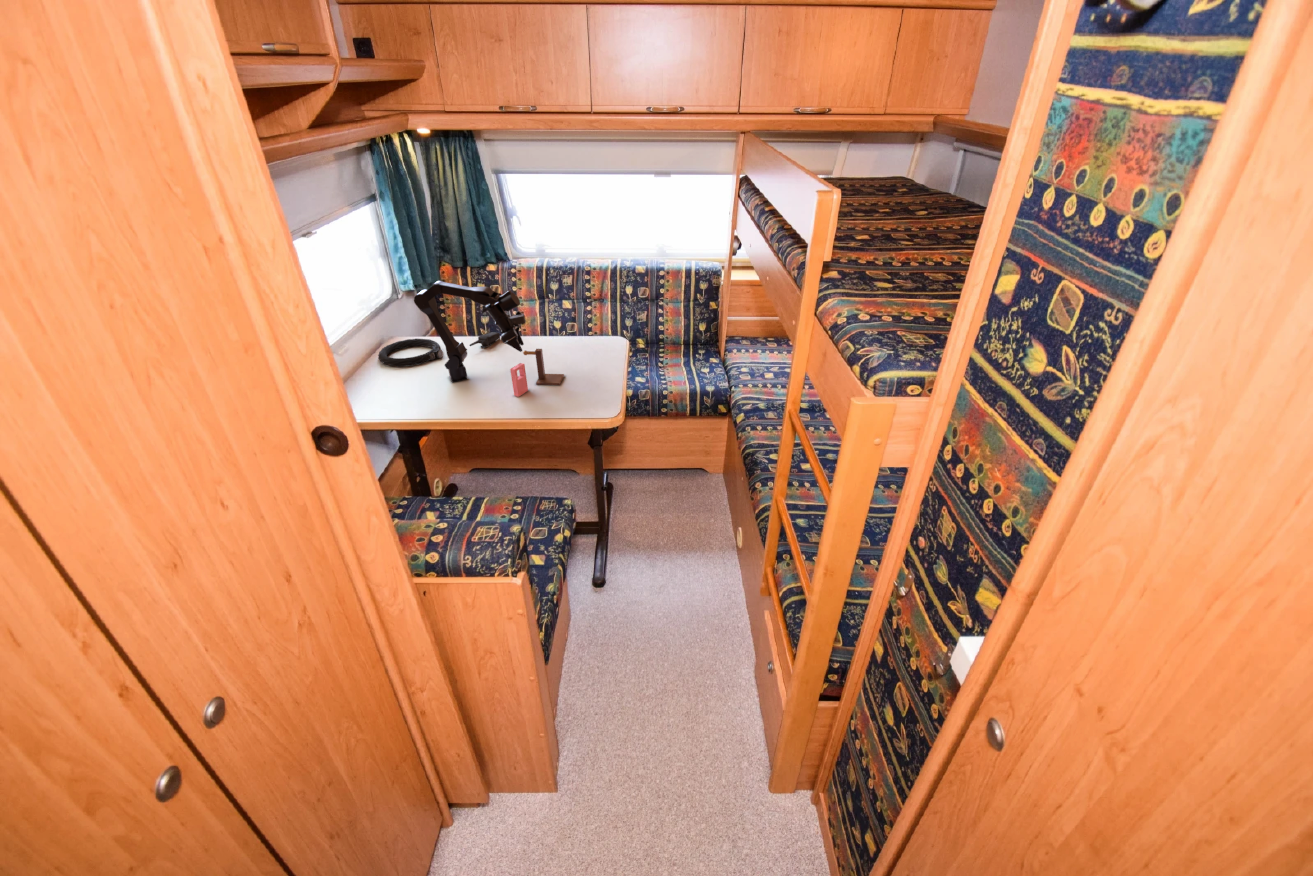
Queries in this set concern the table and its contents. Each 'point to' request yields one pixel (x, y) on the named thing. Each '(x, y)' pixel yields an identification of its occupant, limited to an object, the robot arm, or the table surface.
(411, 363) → the ring
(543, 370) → the stand
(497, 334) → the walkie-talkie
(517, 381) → the pink tunnel block
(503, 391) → the table surface
